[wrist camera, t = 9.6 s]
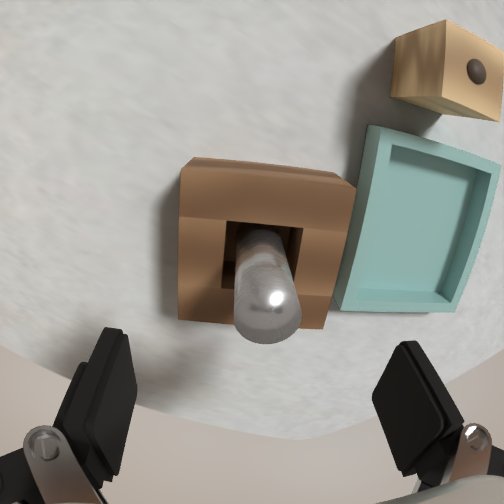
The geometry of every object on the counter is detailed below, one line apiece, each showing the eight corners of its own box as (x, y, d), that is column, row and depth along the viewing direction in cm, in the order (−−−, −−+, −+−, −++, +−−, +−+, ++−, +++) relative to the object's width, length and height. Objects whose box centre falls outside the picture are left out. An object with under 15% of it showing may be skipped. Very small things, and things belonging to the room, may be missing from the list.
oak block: (395, 37, 18) (447, 19, 12) (447, 58, 18) (505, 52, 12) (389, 97, 20) (442, 96, 14) (442, 114, 20) (500, 122, 14)
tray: (367, 124, 21) (381, 126, 19) (483, 159, 22) (501, 165, 19) (332, 293, 27) (340, 310, 24) (442, 298, 27) (454, 312, 25)
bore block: (193, 157, 22) (181, 169, 17) (333, 172, 22) (356, 188, 18) (188, 282, 26) (178, 319, 21) (310, 292, 26) (322, 329, 22)
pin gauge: (238, 212, 22) (236, 286, 13) (281, 216, 23) (307, 291, 13) (234, 251, 24) (231, 341, 14) (275, 255, 24) (295, 345, 15)
